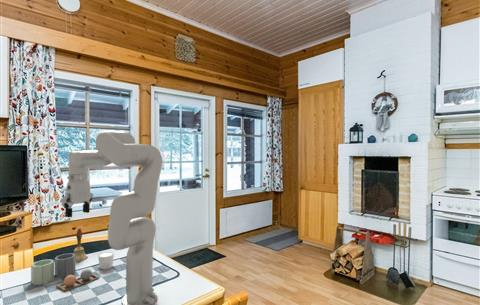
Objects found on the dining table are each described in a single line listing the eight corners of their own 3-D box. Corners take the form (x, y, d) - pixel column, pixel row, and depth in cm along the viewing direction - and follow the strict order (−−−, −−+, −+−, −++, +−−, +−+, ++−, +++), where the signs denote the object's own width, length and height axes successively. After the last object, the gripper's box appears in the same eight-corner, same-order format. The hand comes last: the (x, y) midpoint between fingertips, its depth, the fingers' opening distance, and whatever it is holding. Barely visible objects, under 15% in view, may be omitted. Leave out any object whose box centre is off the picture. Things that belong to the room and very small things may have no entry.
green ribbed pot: (56, 281, 121) (56, 261, 121) (36, 288, 115) (36, 267, 115) (48, 277, 125) (48, 258, 125) (28, 283, 119) (28, 263, 119)
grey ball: (93, 279, 121) (93, 269, 121) (83, 283, 118) (83, 272, 118) (88, 276, 124) (88, 266, 124) (78, 280, 120) (78, 270, 120)
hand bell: (70, 257, 149) (71, 227, 149) (88, 254, 152) (88, 226, 152) (68, 262, 141) (68, 231, 141) (87, 260, 145) (87, 230, 145)
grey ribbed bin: (77, 274, 128) (78, 255, 128) (60, 280, 122) (60, 260, 122) (69, 270, 133) (69, 252, 133) (52, 275, 126) (52, 257, 126)
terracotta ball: (78, 285, 116) (78, 274, 116) (66, 289, 112) (67, 278, 112) (73, 282, 118) (73, 272, 118) (61, 286, 114) (61, 275, 114)
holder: (98, 280, 122) (98, 276, 122) (64, 294, 110) (64, 289, 110) (90, 276, 126) (90, 272, 126) (56, 289, 114) (56, 285, 114)
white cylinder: (107, 272, 130) (107, 257, 130) (94, 271, 132) (95, 256, 132) (116, 266, 137) (116, 252, 137) (104, 265, 138) (104, 251, 138)
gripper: (68, 179, 118) (68, 219, 118) (98, 176, 135) (98, 211, 135) (54, 179, 120) (54, 218, 120) (86, 176, 137) (86, 210, 137)
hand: (77, 214), depth 128 cm, fingers open, 9 cm apart
